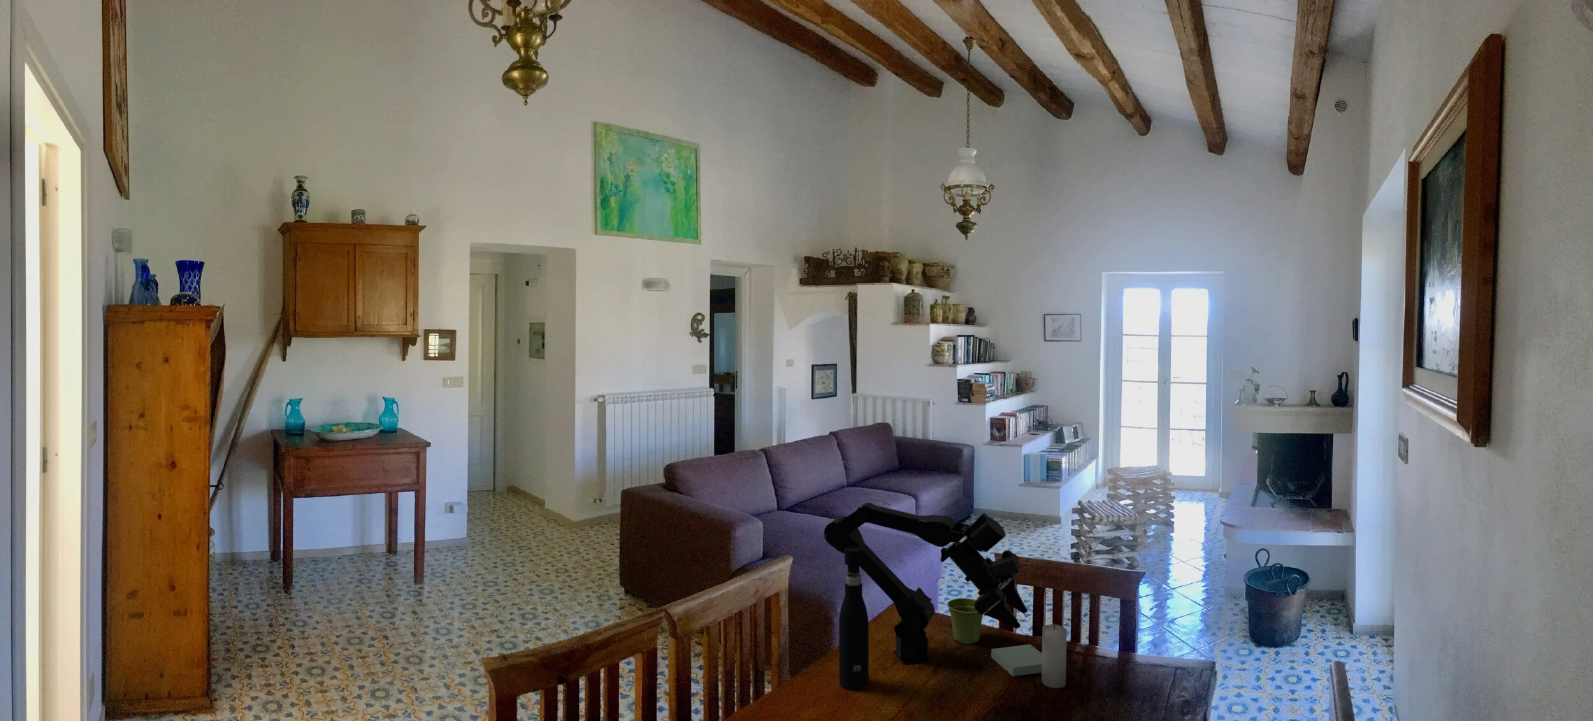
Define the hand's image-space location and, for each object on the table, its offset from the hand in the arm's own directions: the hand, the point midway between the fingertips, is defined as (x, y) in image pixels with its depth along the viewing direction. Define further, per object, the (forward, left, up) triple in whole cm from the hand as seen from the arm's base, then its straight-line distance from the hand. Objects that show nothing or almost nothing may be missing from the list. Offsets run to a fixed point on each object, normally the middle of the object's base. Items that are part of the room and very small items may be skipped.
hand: (1022, 619), depth 181 cm
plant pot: (-3, +22, -13) cm, 26 cm away
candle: (+5, -4, -13) cm, 15 cm away
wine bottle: (-37, +7, -13) cm, 40 cm away
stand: (+3, +6, -13) cm, 15 cm away
